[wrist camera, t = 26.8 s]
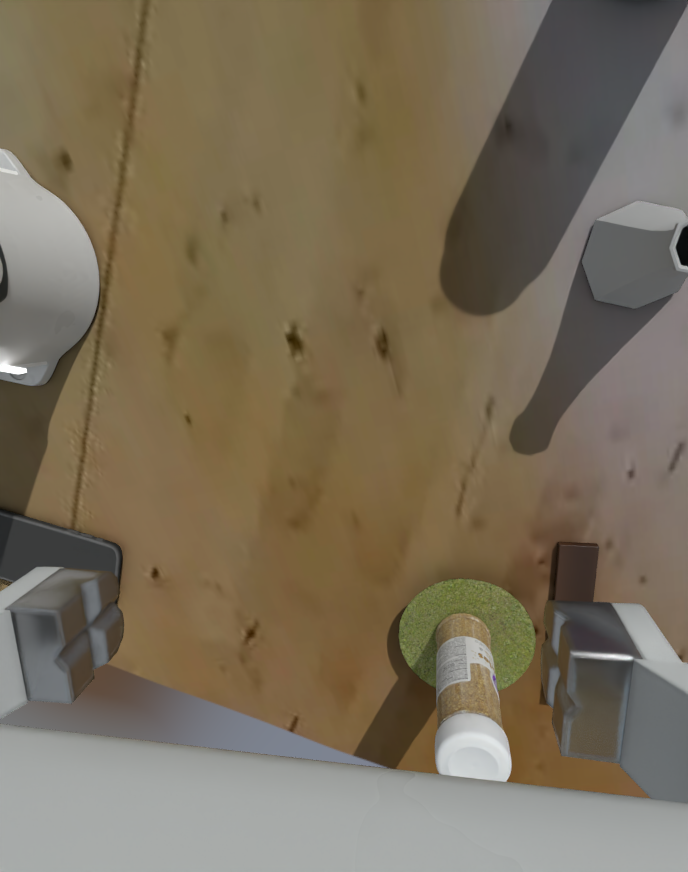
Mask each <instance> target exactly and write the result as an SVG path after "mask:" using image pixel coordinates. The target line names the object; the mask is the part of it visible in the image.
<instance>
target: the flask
mask: <svg viewBox="0 0 688 872" xmlns="http://www.w3.org/2000/svg"><path fill="white" fill-rule="evenodd" d="M582 264H583V267H584V270H585V273H586V275H587V278H588V281H589V284H590V287H591V290H592V293H593V296H594V298H595V300H598V301H602V302H607V303H611V304H615V305H620V306H624V307H629V308H633V309H637V308H639V307H642V306H644V305H646V304H649V303H651V302H654V301H656V300H659V299H661V298H664V297H666V296H669V295H671V294H674V293H676V292H678V291H679V289H680V288H681V286H682V284H683V282H684V281H685V279H686V278H687V276H688V218H687V216H686V215H685V213H684V212H683V211H682V210H681V209H677V208H672V207H667V206H662V205H657V204H653V203H648V202H643V201H636V202H634V203H632V204H629V205H627V206H625V207H623V208H621V209H618V210H616V211H614V212H612V213H609V214H607V215H605V216H603V217H601V218H598V219H596V220H595V223H594V226H593V229H592V232H591V236H590V239H589V242H588V245H587V248H586V251H585V254H584V257H583V260H582Z"/></svg>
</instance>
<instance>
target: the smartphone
mask: <svg viewBox="0 0 688 872" xmlns="http://www.w3.org/2000/svg"><path fill="white" fill-rule="evenodd" d="M121 562H122V551H121V548H120V547H119V545H117V544H116V543H113V542H110V541H106V540H104V539H102V538H96V537H94V536H92V535H88V534H85V533H80V532H78V531H75V530H72V529H66V528H63V527H60V526H56V525H53V524H50V523H46V522H43V521H39V520H36V519H33V518H29V517H26V516H23V515H19V514H16V513H13V512H9V511H6V510H3V509H0V578H1V579H4V580H7V581H10V582H13V583H14V582H15V581H17V580H18V579H20V578H21V577H23V576H24V575H26V574H27V573H29V572H30V571H32V570H33V569H35V568H36V567H64V568H74V569H86V570H97V571H109V572H112V573H113V574H114V575H115V576H116V577H117V578H118V584H119V578H120V570H121ZM116 602H117V598H116V600H115V602H114V603H115V604H116Z"/></svg>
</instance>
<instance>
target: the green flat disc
mask: <svg viewBox="0 0 688 872" xmlns="http://www.w3.org/2000/svg"><path fill="white" fill-rule="evenodd" d="M458 613H466V614H471V615H473V616H476V617H478V618H479V619H480V620H481V621H483V622H484V623H485V624H486V626H487V628H488V629H489V632H490V636H491V644H490V646H491V653H492V656H493V661H494V668H495V676H496V682H497V689H498V691H499V690H502V689H503V688H506V687H508V686H509V685H511V684H512V683H514V682H515V681H516V680H517V679H519V678H520V676H521V675H522V674H523V673H524V672H525V671H526V670H527V668H528V666H529V665H530V662H531V661H532V658H533V655H534V650H535V644H536V643H535V641H536V640H535V631H534V628H533V624H532V621H531V619H530V617H529V615H528V614H527V611H526V610H525V608H524V607H523V606H522V604H521V603H520V602H519V601H518V600H516V599H515V598H514V597H513V596H512V595H511V594H509V593H507V591H505V590H504V589H502V588H499V587H498V586H496V585H494V584H493V585H491V583H487V582H484V581H478V580H473V579H472V580H471V579H463V578H461V579H460V578H459V579H450V580H448V581H442V582H440V583H436V584H434V585H432V586H429V587H428V588H426V589H425V590H423V591H422V592H420V593H419V594H418V595H417V596H416V597H415V598H414V599H413V600H412V601H411V602H410V603H409V604H408V606H407V608H406V609H405V611H404V613H403V615H402V618H401V620H400V626H399V642H400V648H401V651H402V654H403V656H404V658H405V660H406V662H407V663H408V665H409V666H410V668H411V669H412V670H413V672H414V673H415V674H416V675H418V676H419V678H420V679H422V680H424V681H425V682H426V683H427V684H430V686H433V687H434V688H436V658H437V642H436V630H437V627H438V625H439V624H440V622H441V621H442V620H443V619H445V618H446V617H448V616H450V615H452V614H458Z"/></svg>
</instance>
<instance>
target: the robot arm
mask: <svg viewBox="0 0 688 872" xmlns="http://www.w3.org/2000/svg"><path fill="white" fill-rule="evenodd" d="M99 286H100V282H99V269H98V263H97V259H96V255H95V252H94V249H93V246H92V243H91V241H90V239H89V236H88V234H87V232H86V231H85V229H84V227H83V225H82V224H81V222H80V221H79V219H78V218H77V217H76V215H75V214H74V213H73V212H72V211H71V209H70V208H69V207H68V206H67V205H66V204H65V203H64V202H63V201H61V200H60V199H59V198H58V197H57V196H55V195H54V194H53V193H51V192H49V191H48V190H46V189H45V188H43V187H42V186H40V185H39V184H38V183H36V182H35V181H34V180H33V179H32V178H31V177H30V175H29V174H28V172H27V171H26V169H25V168H24V167H23V165H22V164H21V163H20V161H19V160H18V159H17V158H16V156H15V155H14V154H13V153H11V152H10V151H9V150H7V149H2V148H0V379H1V380H5V381H10V382H14V383H19V384H23V385H28V386H38V385H44V384H45V383H47V382H48V380H49V379H50V378H51V376H52V374H53V372H54V370H55V367H56V365H57V363H58V360H59V359H60V357H61V356H62V355H63V354H64V353H65V352H67V351H68V350H69V349H70V348H71V347H73V346H74V345H75V344H76V343H77V342H78V341H79V340H80V339H81V338H82V337H83V335H84V334H85V333H86V331H87V329H88V328H89V326H90V324H91V322H92V320H93V317H94V315H95V312H96V308H97V304H98V298H99ZM119 594H120V590H119V584H118V578H117V577H116V576H115V575H114V574H113V573H112V572H109V571H97V570H86V569H74V568H64V567H36V568H35V569H33V570H32V571H30V572H29V573H27V574H26V575H24V576H23V577H21V578H20V579H18V580H17V581H15V582H14V583H12V584H11V585H10V586H8V587H7V588H5V589H4V590H2V591H1V592H0V719H2V718H3V717H5V716H7V715H8V714H10V713H12V712H13V711H15V710H16V709H18V708H20V707H21V706H23V705H25V704H26V703H28V700H29V701H43V702H57V703H71V704H72V703H73V702H74V701H75V700H76V698H77V697H78V696H79V695H80V694H81V693H82V692H83V690H84V689H85V688H86V687H87V686H88V685H89V684H90V683H91V682H92V680H93V679H94V669H96V668H98V667H100V666H102V665H104V664H106V663H108V662H109V661H110V660H111V659H112V657H113V656H114V655H115V654H116V653H117V651H118V648H119V646H120V643H121V641H122V638H123V632H124V618H123V613H122V611H121V610H120V609H119V608H118V606H117V605H116V604H115V603H114V602H115V600H116V598H117V597H118V595H119ZM544 626H545V629H546V632H547V635H548V639H547V640H546V641H545V642H544V643H543V644H542V648H541V680H542V686H543V692H544V696H545V700H546V703H547V704H549V705H550V706H551V707H552V708H553V716H552V725H553V728H554V732H555V735H556V739H557V742H558V746H559V749H560V753H561V756H567V757H574V758H582V759H589V760H597V761H604V762H612V763H619V764H620V767H621V768H622V769H623V770H624V771H625V772H626V773H627V774H628V775H629V776H630V777H631V778H632V779H633V780H634V781H635V782H636V783H637V784H638V785H639V786H640V787H641V789H642V790H643V791H644V792H645V793H646V794H647V795H648V796H649V797H650V798H651V799H649V798H641V797H632V796H623V795H615V794H606V793H598V792H589V791H580V790H572V789H563V788H554V787H546V786H537V785H528V784H519V783H511V782H502V781H493V780H485V779H476V778H467V777H459V776H450V775H441V774H432V773H424V772H415V771H406V770H398V769H389V768H380V767H371V766H363V765H353V764H345V763H336V762H328V761H319V760H310V759H302V758H293V757H284V756H276V755H267V754H258V753H250V752H241V751H232V750H222V749H214V748H206V747H198V746H188V745H179V744H172V743H163V742H154V741H146V740H136V739H127V738H119V737H110V736H102V735H94V734H85V733H76V732H68V731H59V730H50V729H42V728H32V727H24V726H16V725H7V724H0V872H688V663H682V661H681V660H680V658H679V657H678V655H677V654H676V653H675V651H674V650H673V648H672V647H671V645H670V644H669V642H668V641H667V640H666V638H665V637H664V635H663V634H662V632H661V631H660V629H659V628H658V627H657V625H656V624H655V622H654V621H653V619H652V618H651V616H650V615H649V613H648V612H647V611H646V609H645V608H644V606H642V605H640V604H635V603H607V602H582V601H557V600H549V601H547V602H546V606H545V612H544Z"/></svg>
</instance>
